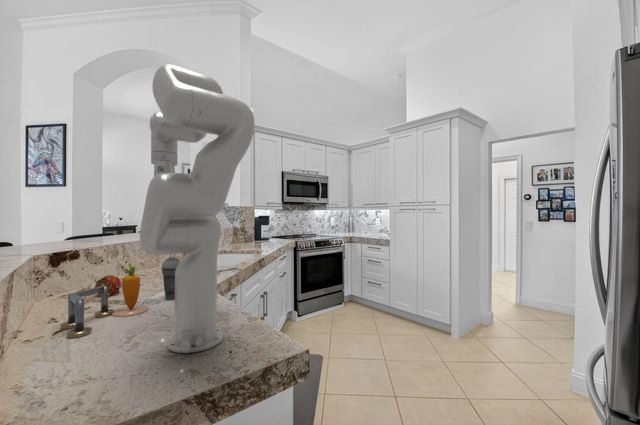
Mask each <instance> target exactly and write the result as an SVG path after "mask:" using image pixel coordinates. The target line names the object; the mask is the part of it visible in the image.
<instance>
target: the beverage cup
mask: <svg viewBox="0 0 640 425" xmlns="http://www.w3.org/2000/svg"><path fill="white" fill-rule="evenodd" d="M180 261H181V260H180V259H179V258H178V257H175V256H173V257H172V254H169V257H168V258H166V259H165V260H164V261H163V262H162V264H161V268H160V270H161V273H162V280H163V288H164V289H163V290H164V296H165V301H175V271H176V268H177V266H178V264H179V263H180Z"/></svg>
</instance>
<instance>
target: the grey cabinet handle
mask: <svg viewBox="0 0 640 425" xmlns="http://www.w3.org/2000/svg"><path fill="white" fill-rule="evenodd" d="M98 292H101V295H100V310H97V311H95V312H94V314H93V315H94V318H97V319H100V318H107V316H108V317H111V316H112V313H113V312H114V311H115V309H109V296H108V286H107V285H104V286H100V287H96V288H94V287H92V288H87V289H84V290H80V291H75V292H72V293H71V292H70V293H67V294H68V297H67V306H68V307H67V310H68V311H67V321H65V322H62V323H60V329H61V330H69V331H67V332H66V338H67V339H77V338H78V339H79V338H83V337H86V336H88V335H90V334H92V332H93V331H92V330H93V329H92V327H90V326H85V299H84V298H82V297H86V296H90V295H93V294H94V295H95V294H98Z"/></svg>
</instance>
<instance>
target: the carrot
mask: <svg viewBox="0 0 640 425" xmlns="http://www.w3.org/2000/svg"><path fill="white" fill-rule="evenodd" d="M127 265H128V268H129V269H128V268H126V267H124V268H123V270H124V271H126V272H127V273H128V275H125V276H123V277H122V279H121V280H122V282H121V286H122V295H123V299H124V302H125V305H126V307H128V308H129V309H130V310H132V309H133V308H134V306H135V305H137V302H138V299H139V294H140V286H141V277H140V276H139V275H138V274H135V273H136V272H135V271H136V267H137V265H135V264H134V265H132V263H128V264H127Z"/></svg>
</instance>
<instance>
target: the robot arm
mask: <svg viewBox="0 0 640 425" xmlns="http://www.w3.org/2000/svg"><path fill="white" fill-rule="evenodd" d="M152 93H153V97H154V99H155V103H156V105H157V106H158V108H159V110H160V111H155V112H154V113H153V114H152V115H151V116H150V120H149V129H150V133H151V134H150V164H152V165H153V166H154V167H153V177H152V179H151V180H150V182H149V184H148V187H147V191H146V196H145V203H144V208H143V212H142V218H141V224H140V230H139V244H140V247H141V250H143V252H145V253H146V254H149V255H153V256H157V255H158V256H159V255H161V256H163V255H170V254H171V255H174V254H185V255H184V256H183V257H182V259H181V260H180V263H179V264H178V266H177V268H176V271H175V299H174V335H173V336H170V338H169V339H168V340H167V349H168V350H170V351H171V352H174V353H178V354H190V353H191V354H192V353H196V352H197V353H198V352H202V351H205V350H209V349H212V348H214V347H216V346H218V345H219V344H221V343H222V341H223V339H224V332H223V330H222V329H220V328H218V279H217V278H218V254H219V246H220V241H221V233H222V228H221V224H220V221H219V219H218V218H216V217H215V216H218V215H219V214H220V212H221V211H222V210H223V208H224V206H225V204H226V200H227V197H228V195H229V192H230V188H231V186H232V183H233V179H234V177H235V173H236V170H237V168H238V166H239V164H240V162H241V161H242V159H243V158H244V157H245V154H246V153H247V151H248V149H249V148H250V145H251V143H252V141H253V140H252V139H253V137H254V133H255V116H254V113H253V110H252V109H251V108H250V106H249V105H248V104H246V103H244V102H243V101H241V100H239V99H237V98H235V97H232V96H230V95H226V94H224V92H223V89H222V86H220V84H219V83H218V82H217V81H216V80H214V79H213V78H212V77H210V76H208V75H205V74H203V73H201V72H196V71H194V70H190V69H188V68H184V67H182V66H178V65H176V64H169V63H166V64H163V65H161V66H159V68H157V69H156V71H155V73H154V76H153V79H152ZM208 134H209V135H210V134H211V135H214V136H217V137H216V138H215V139H213V140H211V141H210V142H208V143H207V144H206V145H205V146H204V147H202V148H201V149H200V151H198V152H197V154H196V156H195V159H194V161H193V162H194V163H193V166H192V170H191V172H189V173H180V172H176V166H178V162H179V161H178V142H185V143H193V144H194V143H198V142H200V141H202V140H203V139H204V138H205V137H206V136H207V135H208Z"/></svg>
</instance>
